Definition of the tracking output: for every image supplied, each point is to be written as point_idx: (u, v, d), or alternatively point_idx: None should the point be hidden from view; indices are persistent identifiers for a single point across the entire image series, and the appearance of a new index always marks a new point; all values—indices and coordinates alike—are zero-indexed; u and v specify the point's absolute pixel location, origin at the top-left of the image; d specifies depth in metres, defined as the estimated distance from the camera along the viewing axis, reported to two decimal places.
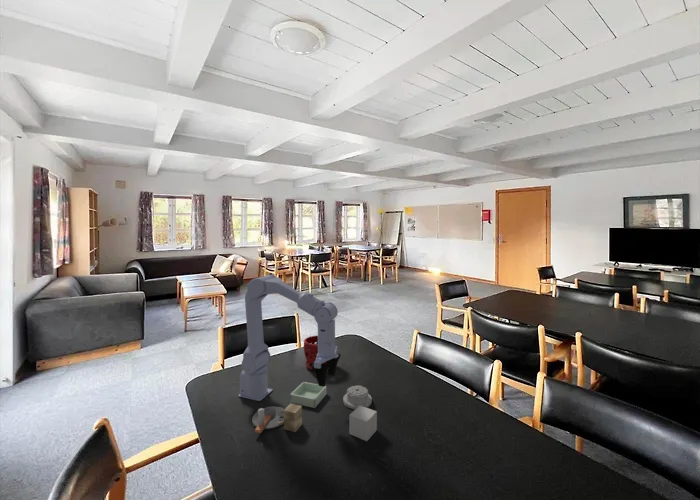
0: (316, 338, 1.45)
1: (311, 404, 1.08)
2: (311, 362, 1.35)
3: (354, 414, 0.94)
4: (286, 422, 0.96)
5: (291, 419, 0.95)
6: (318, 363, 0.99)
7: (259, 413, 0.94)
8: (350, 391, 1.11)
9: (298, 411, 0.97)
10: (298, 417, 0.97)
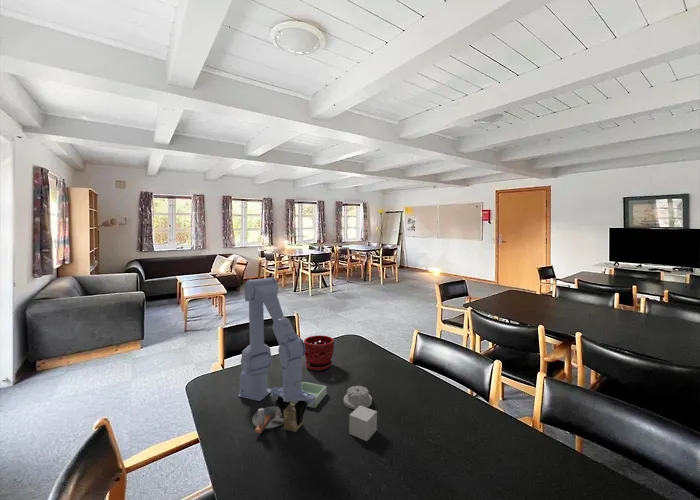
0: (316, 338, 1.45)
1: None
2: (311, 362, 1.35)
3: (354, 414, 0.94)
4: (286, 422, 0.96)
5: (291, 419, 0.95)
6: None
7: (259, 413, 0.94)
8: (350, 391, 1.10)
9: None
10: None
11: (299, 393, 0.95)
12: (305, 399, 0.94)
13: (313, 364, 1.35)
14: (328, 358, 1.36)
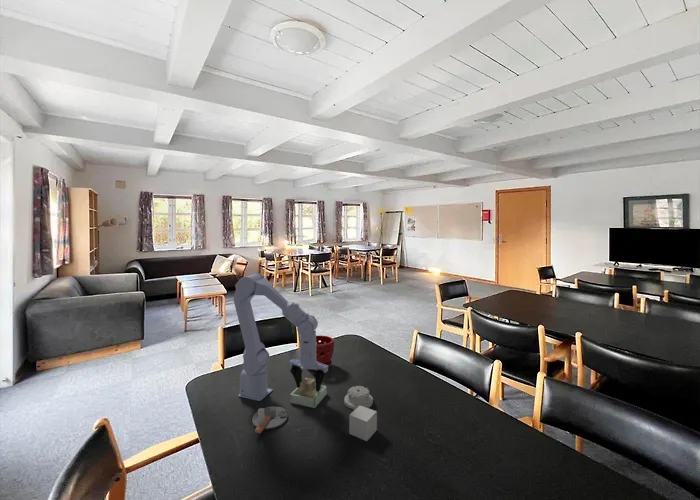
0: (316, 338, 1.45)
1: (311, 404, 1.08)
2: None
3: (354, 414, 0.94)
4: (302, 393, 1.12)
5: (307, 390, 1.11)
6: None
7: (259, 413, 0.94)
8: (351, 392, 1.10)
9: (312, 384, 1.12)
10: (313, 388, 1.13)
11: (314, 363, 1.11)
12: (319, 368, 1.10)
13: None
14: (328, 358, 1.36)
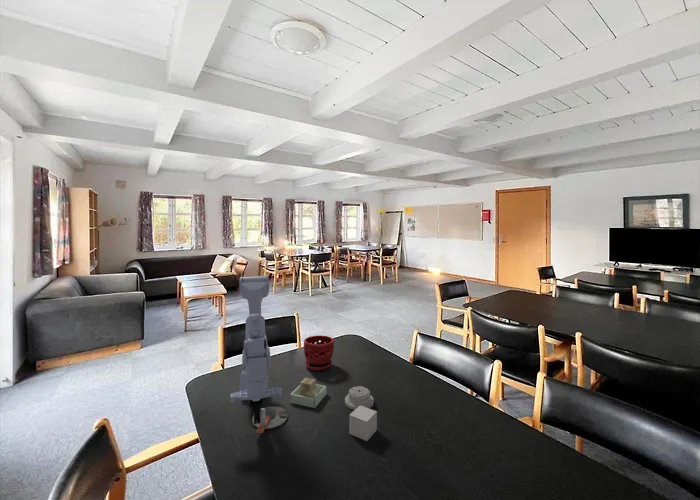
0: (316, 338, 1.45)
1: (311, 404, 1.08)
2: (311, 362, 1.35)
3: (354, 414, 0.94)
4: (302, 393, 1.12)
5: (307, 390, 1.11)
6: None
7: (260, 413, 0.94)
8: (352, 392, 1.10)
9: (312, 384, 1.12)
10: (313, 388, 1.13)
11: (266, 389, 0.94)
12: (274, 393, 0.94)
13: (313, 364, 1.35)
14: (328, 358, 1.36)
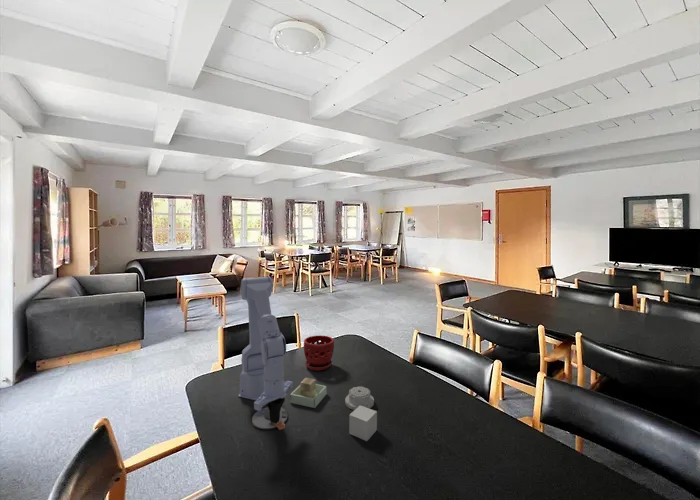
0: (316, 338, 1.45)
1: (311, 404, 1.08)
2: (311, 362, 1.35)
3: (354, 414, 0.94)
4: (302, 393, 1.12)
5: (307, 390, 1.11)
6: (257, 405, 0.88)
7: None
8: (352, 392, 1.10)
9: (312, 384, 1.12)
10: (313, 388, 1.13)
11: None
12: (289, 386, 0.98)
13: (313, 364, 1.35)
14: (328, 358, 1.36)
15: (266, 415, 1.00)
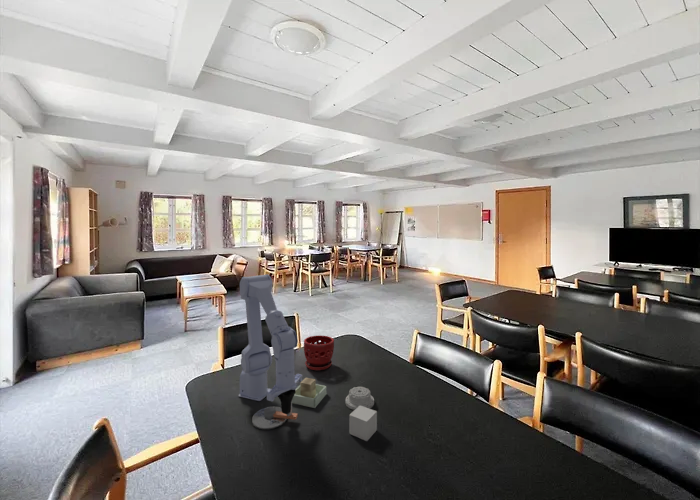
0: (316, 338, 1.45)
1: (311, 404, 1.08)
2: (311, 362, 1.35)
3: (354, 414, 0.94)
4: (302, 393, 1.12)
5: (307, 390, 1.11)
6: (270, 395, 0.92)
7: (291, 402, 1.00)
8: (352, 392, 1.10)
9: (312, 384, 1.12)
10: (313, 388, 1.13)
11: None
12: (299, 378, 1.02)
13: (313, 364, 1.35)
14: (328, 358, 1.36)
15: (270, 415, 1.00)
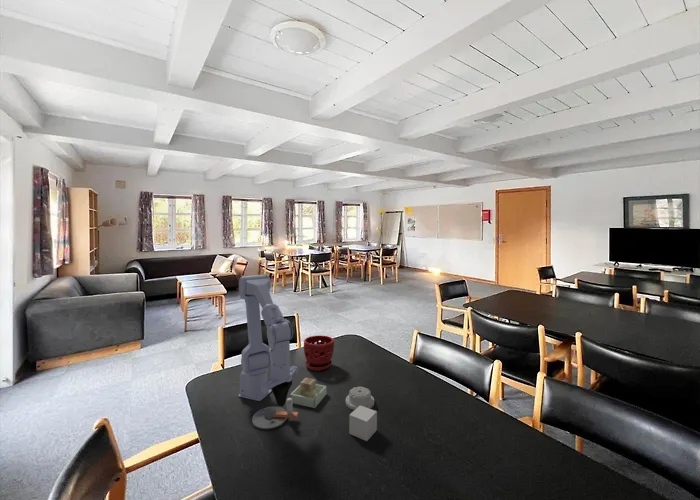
0: (316, 338, 1.45)
1: (311, 404, 1.08)
2: (311, 362, 1.35)
3: (354, 414, 0.94)
4: (302, 393, 1.12)
5: (307, 390, 1.11)
6: (265, 387, 0.90)
7: None
8: (352, 392, 1.10)
9: (312, 384, 1.12)
10: (313, 388, 1.13)
11: None
12: (294, 371, 1.01)
13: (313, 364, 1.35)
14: (328, 358, 1.36)
15: (270, 415, 1.00)
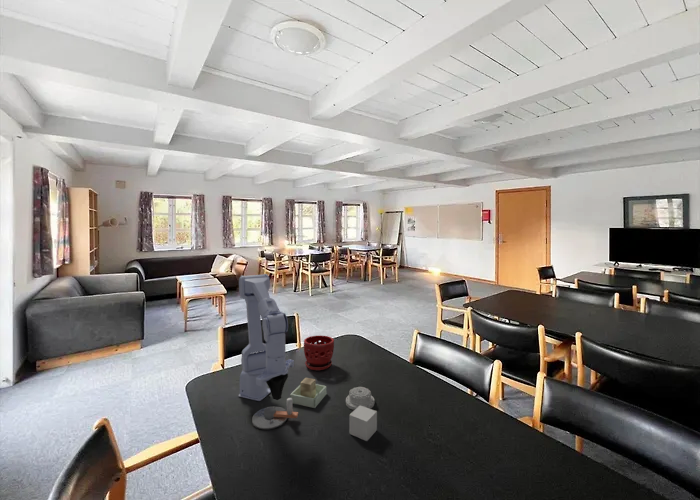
0: (316, 338, 1.45)
1: (311, 404, 1.08)
2: (311, 362, 1.35)
3: (354, 414, 0.94)
4: (302, 393, 1.12)
5: (307, 390, 1.11)
6: (259, 380, 0.88)
7: None
8: (353, 392, 1.10)
9: (312, 384, 1.12)
10: (313, 388, 1.13)
11: None
12: (290, 364, 0.99)
13: (313, 364, 1.35)
14: (328, 358, 1.36)
15: (270, 415, 1.00)
